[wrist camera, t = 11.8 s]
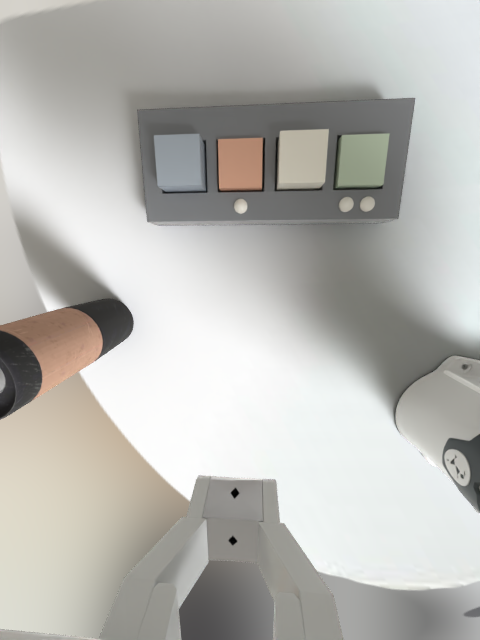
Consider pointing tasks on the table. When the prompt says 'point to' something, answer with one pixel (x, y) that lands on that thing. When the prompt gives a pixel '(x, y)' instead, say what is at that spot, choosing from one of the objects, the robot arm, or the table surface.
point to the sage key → (360, 161)
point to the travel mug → (56, 348)
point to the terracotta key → (240, 164)
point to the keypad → (267, 125)
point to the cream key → (301, 160)
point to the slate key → (181, 163)
